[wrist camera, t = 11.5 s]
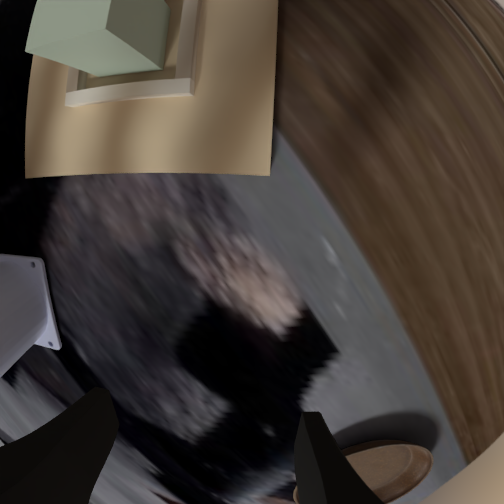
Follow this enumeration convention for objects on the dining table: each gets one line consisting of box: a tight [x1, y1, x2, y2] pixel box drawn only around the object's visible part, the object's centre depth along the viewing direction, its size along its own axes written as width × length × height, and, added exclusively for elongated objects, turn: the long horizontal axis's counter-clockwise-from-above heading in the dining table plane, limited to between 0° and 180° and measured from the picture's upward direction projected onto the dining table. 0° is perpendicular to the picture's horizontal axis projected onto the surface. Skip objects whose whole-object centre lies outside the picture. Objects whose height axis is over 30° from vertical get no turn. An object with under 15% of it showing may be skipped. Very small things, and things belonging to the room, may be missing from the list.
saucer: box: [293, 440, 433, 504], centre depth 25 cm, size 15×15×3 cm
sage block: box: [25, 0, 171, 77], centre depth 11 cm, size 4×4×7 cm
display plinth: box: [25, 0, 278, 178], centre depth 14 cm, size 16×16×2 cm
